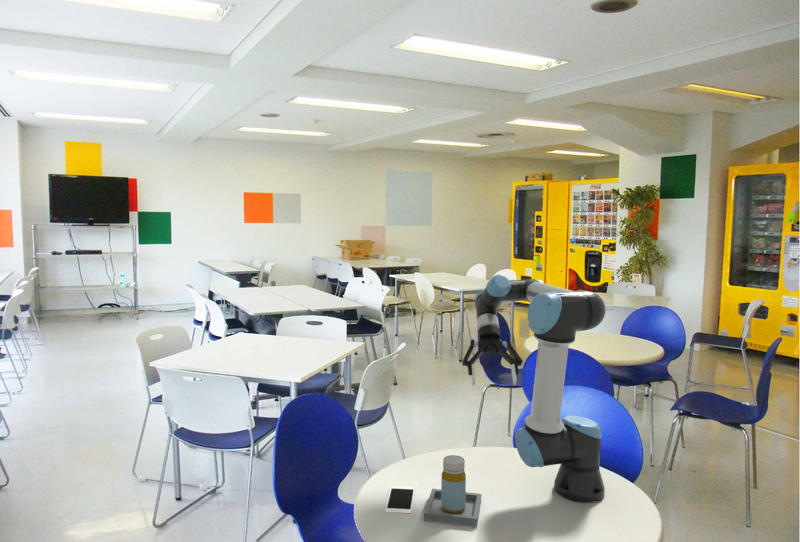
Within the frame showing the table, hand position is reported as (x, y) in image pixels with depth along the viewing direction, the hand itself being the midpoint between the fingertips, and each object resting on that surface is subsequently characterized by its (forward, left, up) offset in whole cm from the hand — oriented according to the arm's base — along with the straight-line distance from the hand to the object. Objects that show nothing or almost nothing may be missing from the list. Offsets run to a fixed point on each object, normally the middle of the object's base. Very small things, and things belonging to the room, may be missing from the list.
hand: (494, 383), depth 193 cm
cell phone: (+26, +25, -31) cm, 48 cm away
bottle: (+10, +28, -30) cm, 43 cm away
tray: (+10, +28, -31) cm, 43 cm away
